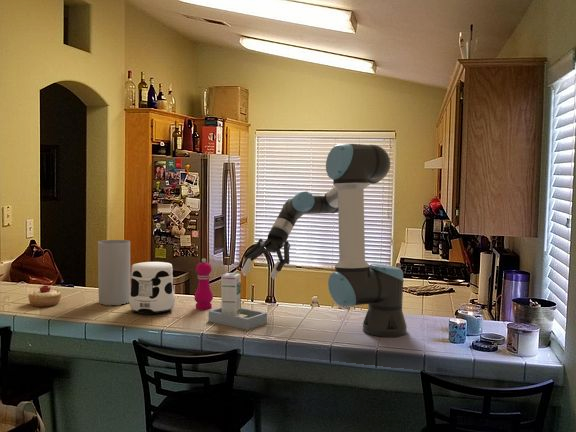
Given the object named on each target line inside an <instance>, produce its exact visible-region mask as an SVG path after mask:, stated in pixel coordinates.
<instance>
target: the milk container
mask: <svg viewBox="0 0 576 432" xmlns="http://www.w3.org/2000/svg"><path fill="white" fill-rule="evenodd" d="M173 270H174V269H173V264H172V263H170V262H165V261H145V262H143V261H142V262H138V263H137V262H136V263H134V264H132V265H131V269H130V284H131V285H130V288H131V292H130V296H129V303H128V305H129V308H130V309H131V310H132V311H133V312H136V313H139V314H145V315H146V314H148V315H149V314H150V315H151V314H153V315H154V314H162V313H165V312H168V311H170V310H172V309H173V308H174V306H175V304H176V303H175V302H176V295H175V292H174V291H175V290H174V285H173V279H174V275H173V272H174V271H173Z"/></svg>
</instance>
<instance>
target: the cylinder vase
mask: <svg viewBox="0 0 576 432" xmlns="http://www.w3.org/2000/svg"><path fill="white" fill-rule="evenodd" d="M97 263H98V264H97V266H98V268H97V269H98V270H97V273H98V276H97V277H98V285H97V286H98V303H99V304H100V305H102V304H103V305H102V306H107V305H117V306H122V305H121V304H124V305H127V304H129V296H130V292H131V241H130V240H128V239H127V240H126V239H106V240H99V241H97ZM126 303H127V304H126Z"/></svg>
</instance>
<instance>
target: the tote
mask: <svg viewBox="0 0 576 432" xmlns="http://www.w3.org/2000/svg"><path fill="white" fill-rule="evenodd" d="M239 314H243V315H248V318H243V317H239V316H234V315H229V314H224V313H222V306H221V307H217V308H213V309H209V310H208V322H211V323H214V324H218V325H222V326H223V325H224V326H227V327H228V326H229V327H232V328H238V329H242V330H246V331H249V330H252V329H255V328H257V327H260V326H263V325H265V324H268V312H265V311H261V310H260V311H259V310H255V309H249V308H244V307H241V312H240V313H239Z"/></svg>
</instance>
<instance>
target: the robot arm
mask: <svg viewBox="0 0 576 432" xmlns="http://www.w3.org/2000/svg"><path fill="white" fill-rule="evenodd" d="M326 157H327V158H326V161H325V172H326V173H327V176H328V178H329V179H332V180H333V181H332V182H333V183H332V184H333V186H334V187H332V188H331V189H330V190H328V191H327V192H326V193H324V194H312V193H311V192H309V191H307V190H301V191H300V192H298V193H297V194H295V195H294V196H293V197H292V198H288V199H287V200H286V201H285V203H284V204H283V205H282V208H281V210H280V211H279V214H278V215H277V218H276V219H275V221H274V223H273V225H272V226H271V229H270V230H269V233H267V239H266V240H263V239H262V238H259V239H258V241H257V242H256V243H255V244H254V245H253V246H252V247H251V248H249V250H247V251H246V252H245V253H244V254H243V257H244V258H245V261H244V262H243V267H242V269H241V271H240V272H241V273H242V275H243V276H245V277H246V276H247V274H248V272H249V271H250V269H251V267H252V265H253V261H254V260H255V259H258V258H259V257H261V256H262V255H264V254H267V253H276V255H277V257H278V260H276V263H274V264H275V265H274V266H273V268H272V270H271V272H270V277H271V279H272V280H275V279H276V278H277V276H278V274H279V272H281V271H282V269H283V267H284V266H285V265H289V264H290V248H291V244H290V242H289V241H288V238H289V236H290V235H291V232H292V230H293V228H294V226H295V225H296V223H297V221H298V219H300V218H301V217H303V215H316V214H338V217H337V218H338V252H339V253H338V256H339V258H338V262H337V263H336V264H335V265H334V271H333V272H331V273H330V275H329V277H328V280H327V281H328V282H327V285H328V291H329V294H330V296H331V298H332V299H333V301H334V303H335V304H337V305H338V306H341V307H355V306H363V305H368V308H367V311H366V314H365V317H364V320H363V322H362V331H363V332H364V333H365V334H368V335H372V336H376V337H381V338H382V337H383V338H394V337H395V338H396V337H402V336H405V335H406V334H407V332H408V331H407V329H408V327H407V322H406V319H405V315H404V312H403V297H404V296H403V293H404V291H403V290H404V271H403V270H402V269H401V268H399V267H397V266H393V265H387V264H381V263H371V264H369V263H368V262H367V261H366V250H365V249H366V248H365V247H366V246H365V245H366V243H365V239H366V238H365V198H364V197H365V196H364V195H365V192H364V189H366V188H367V187H368V186H370V185H374V184H377V183H380V181H382V180H383V179H384V178H385V177H386V176H387V175H388V173H389V171H390V169H391V159H390V156H389V154H388V152H387V151H386V150H385V149H384V148H383V147H381V146H379V145H376V144H363V143H362V144H361V143H341V144H336V145H334V146H333V147H332V148H331V149H330V151H329V152H328V154H327V156H326ZM282 248H283V255H282V251H281V249H282Z"/></svg>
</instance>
